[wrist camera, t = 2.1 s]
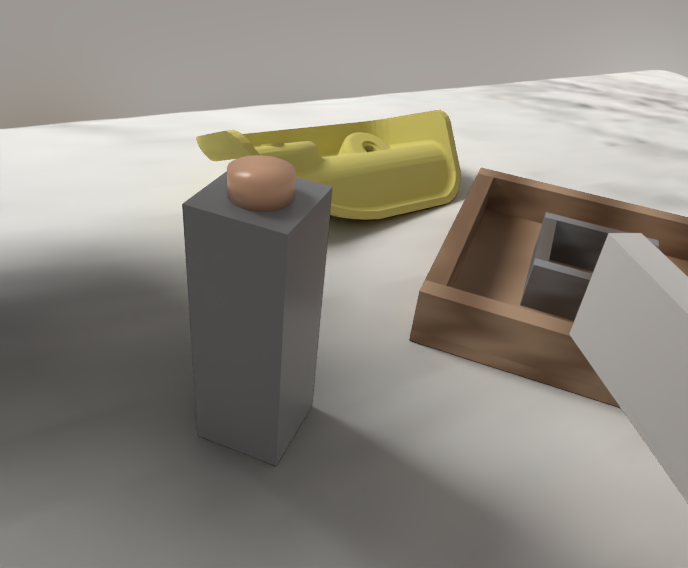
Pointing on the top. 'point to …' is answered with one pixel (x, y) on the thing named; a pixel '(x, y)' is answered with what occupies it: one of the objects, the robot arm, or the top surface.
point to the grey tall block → (255, 302)
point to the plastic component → (361, 161)
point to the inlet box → (529, 276)
